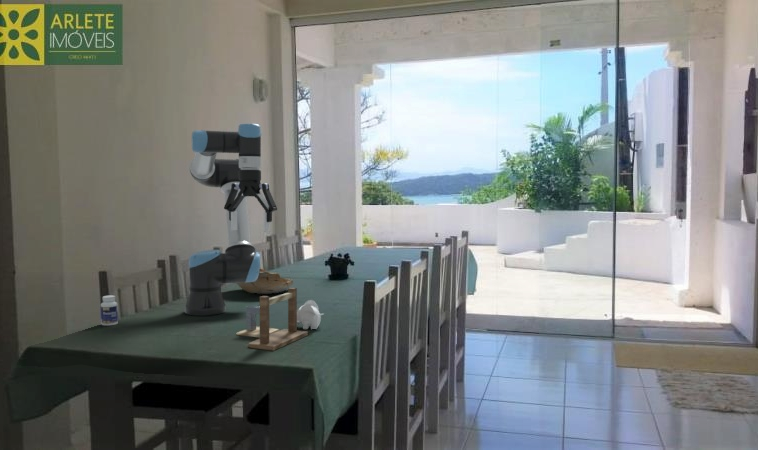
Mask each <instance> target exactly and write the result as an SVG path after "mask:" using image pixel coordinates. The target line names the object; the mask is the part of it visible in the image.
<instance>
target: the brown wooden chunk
mask: <svg viewBox="0 0 758 450" xmlns="http://www.w3.org/2000/svg"><path fill="white" fill-rule="evenodd" d="M293 284H294V280H293V279H292V278H291V279H290V278H284V277H281V275H280V273H278V272H277V273H276V272H269V271H267V270H265V269H263V268H260V269H259V275H258V278H257V280H256V281H254V282H247V283H236V285H238V286H239V288H240V289H242V290H243V291H245V292H247V293H251V294H254V293H257V294H256V295H271V294H272V293H274V294H279V292H280V293H283V292H284V291H287V290H288V288H291V286H292V285H293Z"/></svg>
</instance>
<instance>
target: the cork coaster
mask: <svg viewBox="0 0 758 450" xmlns="http://www.w3.org/2000/svg"><path fill="white" fill-rule="evenodd" d="M277 331H280V329H279V328H272V327H269V335H270V334H273V333H275V332H277ZM236 335H237V336H242V337H243V336H244V337H252V338H253V337H254V338H258V339H260V326H256V330H254V331H246V329H243V330H239V331H238V332H236Z"/></svg>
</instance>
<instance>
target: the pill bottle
mask: <svg viewBox="0 0 758 450" xmlns="http://www.w3.org/2000/svg"><path fill="white" fill-rule="evenodd" d="M115 300H116V295H111V294H110V295H104V296H102V302H101V303H100V325H101V326H115V325H117V324H118V323H119V318H118V317H119V314H118V310H119V308H118V306H119V305H118V302H117V301H115Z"/></svg>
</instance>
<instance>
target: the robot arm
mask: <svg viewBox="0 0 758 450" xmlns="http://www.w3.org/2000/svg"><path fill="white" fill-rule="evenodd" d="M261 137H262V133H261V126H260V125H259V124H257V123H239V124H238V131H228V130H227V131H224V130H223V131H221V130H220V131H219V130H204V129H201V130H193V131H192V133H191V150H192V152H194V157H193V159H191V162H190V163H189V172H190V175H191V177H192V179H194V180H195V182H197V183H199V184H201V185H203V186H205V187H209V188H220V192H221V193H222V194H223V195H224V201H225V204H224V207H223V209H224V210H225V213H226V215H225V216H226V225H227V242H228V246H227V247H226V248H225V250H224V253H222V251H221V250H220V249H208V250H202V251H197V252H194V253H192V254H191V255H189V258H188V266H187V267H188V276H189V277H188V279H189V280H188V288H189V291H188V296H187V299H186V303H185V305H184V313H185V314H186V315H189V316H196V317H197V316H199V317H201V316H202V317H203V316H213V315H214V316H215V315H219V314H223V313H225V312H226V311H227V306H226V303H225V299H224V296H223V294H222V285H223V284H237V283H247V282H254V281H256V280H257V278H258V275H259V269H261V268H260V267H261V253H260V252H258V251H256V247H255V246H254V245H253V244H252V243H251V231H250V222H249V221H250V220H249V219H250V218H249V212H248V211H249V209H248V201H247V199H248V197H254V198H256V199H257V201H258V203H259V204H260V206H261V207H262V208H263V210H264V212H263V232H264V233H268V232H271V222H272V221H273V212H275V211H278V207H277V205H276V203H275V200H274V198H273V195H272V193H271V190H270V185H269V183H266V182H265V183H261V180H262V170H261V169H262V156H261V155H262V153H261V150H262V149H261V147H262V146H261V145H262V144H261V142H262V138H261ZM220 153H222V154H223V153H225V154H226V153H227V154H228V153H229V154H238V158H235V159H231V158H230V159H225V158H224V159H223V158H216V157H217V154H220ZM261 190H262V192H261Z"/></svg>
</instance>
